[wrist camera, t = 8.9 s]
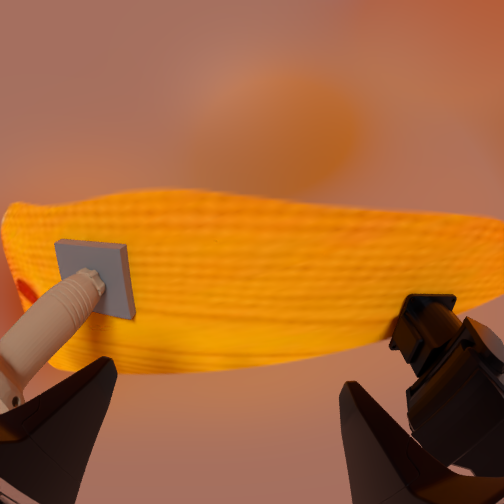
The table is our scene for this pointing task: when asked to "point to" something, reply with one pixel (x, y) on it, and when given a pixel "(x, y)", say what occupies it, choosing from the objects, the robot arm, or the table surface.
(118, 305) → the plate
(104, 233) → the table surface
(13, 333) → the handle
